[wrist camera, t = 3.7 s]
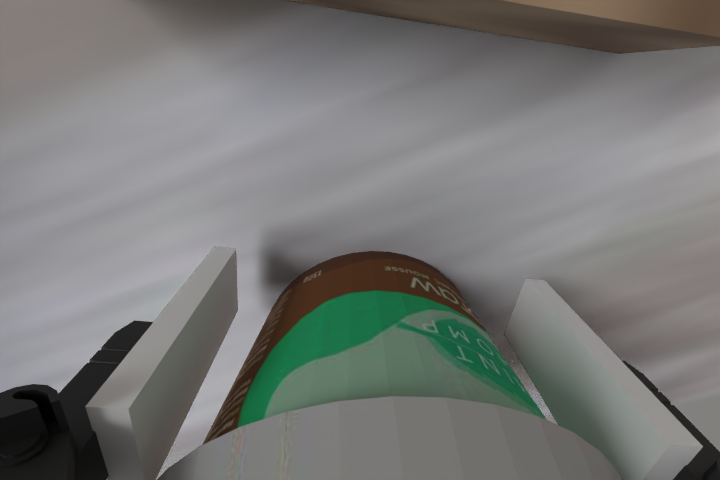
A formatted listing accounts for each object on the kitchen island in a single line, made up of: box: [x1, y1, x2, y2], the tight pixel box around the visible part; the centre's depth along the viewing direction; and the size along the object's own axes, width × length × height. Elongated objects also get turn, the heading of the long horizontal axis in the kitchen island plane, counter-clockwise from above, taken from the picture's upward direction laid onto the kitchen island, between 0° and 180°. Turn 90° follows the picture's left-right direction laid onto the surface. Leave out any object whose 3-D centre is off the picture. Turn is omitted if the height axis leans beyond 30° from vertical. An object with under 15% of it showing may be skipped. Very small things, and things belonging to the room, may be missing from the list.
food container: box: [157, 251, 622, 480], centre depth 10 cm, size 12×6×10 cm, turn 63°
